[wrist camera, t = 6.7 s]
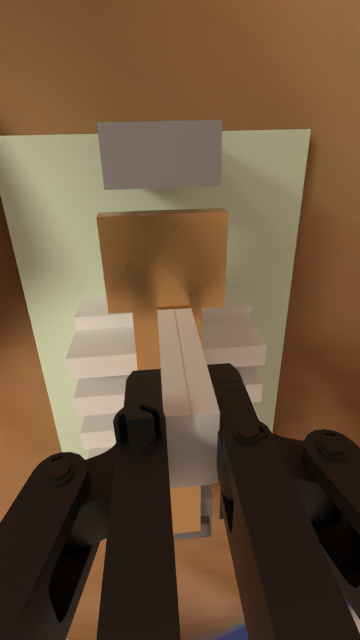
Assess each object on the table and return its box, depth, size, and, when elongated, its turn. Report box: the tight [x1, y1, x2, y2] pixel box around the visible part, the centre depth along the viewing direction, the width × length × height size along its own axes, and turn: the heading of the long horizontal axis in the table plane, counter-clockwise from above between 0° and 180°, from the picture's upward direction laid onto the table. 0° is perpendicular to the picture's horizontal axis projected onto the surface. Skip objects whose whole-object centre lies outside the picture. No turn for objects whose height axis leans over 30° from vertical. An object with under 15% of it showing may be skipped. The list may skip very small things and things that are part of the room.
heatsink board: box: [0, 120, 311, 526], centre depth 21 cm, size 17×26×9 cm, turn 1°
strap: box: [96, 208, 229, 540], centre depth 18 cm, size 21×5×1 cm, turn 1°
